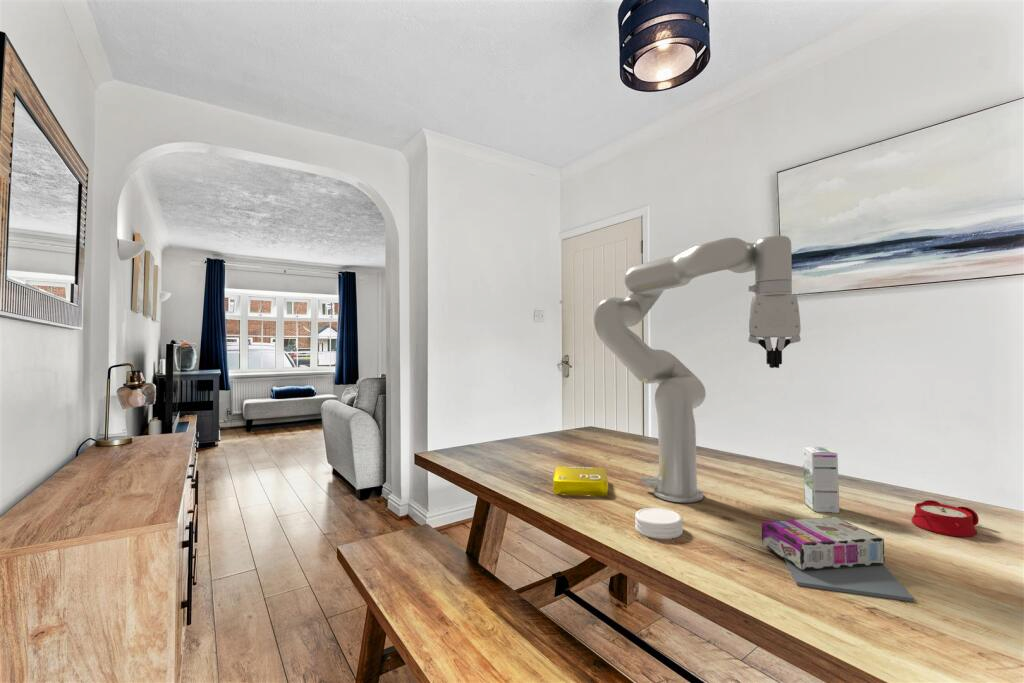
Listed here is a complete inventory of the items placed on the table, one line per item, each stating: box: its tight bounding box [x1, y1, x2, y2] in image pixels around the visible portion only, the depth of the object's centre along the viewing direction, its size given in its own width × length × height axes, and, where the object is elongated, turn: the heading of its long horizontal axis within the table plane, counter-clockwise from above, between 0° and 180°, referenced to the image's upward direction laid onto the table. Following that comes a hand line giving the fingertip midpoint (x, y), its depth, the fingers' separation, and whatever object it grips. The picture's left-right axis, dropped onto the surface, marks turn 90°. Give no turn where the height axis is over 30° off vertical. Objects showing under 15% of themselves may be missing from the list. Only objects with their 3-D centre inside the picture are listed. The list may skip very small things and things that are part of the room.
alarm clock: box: [911, 499, 979, 538], centre depth 102 cm, size 10×6×15 cm
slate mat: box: [784, 559, 915, 603], centre depth 83 cm, size 16×16×1 cm
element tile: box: [552, 465, 609, 497], centre depth 132 cm, size 15×15×5 cm
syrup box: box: [802, 446, 840, 514], centre depth 113 cm, size 6×6×14 cm
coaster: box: [634, 507, 684, 540], centre depth 102 cm, size 10×10×4 cm
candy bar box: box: [761, 516, 886, 570], centre depth 87 cm, size 11×5×16 cm
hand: (774, 367), depth 109 cm, fingers closed
